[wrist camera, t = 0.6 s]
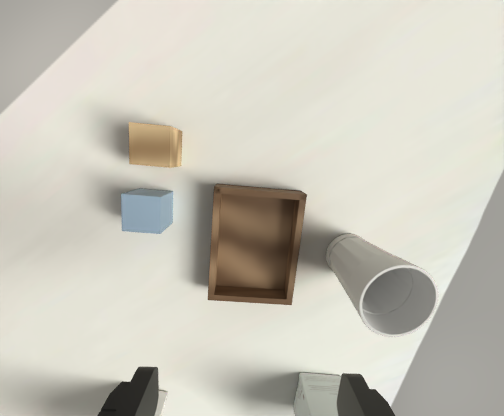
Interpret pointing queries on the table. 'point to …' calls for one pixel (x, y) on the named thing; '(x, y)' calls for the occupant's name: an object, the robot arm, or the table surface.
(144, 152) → the oak block
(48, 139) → the table surface
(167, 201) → the slate block
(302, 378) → the supplement box
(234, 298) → the tray
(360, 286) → the cup
